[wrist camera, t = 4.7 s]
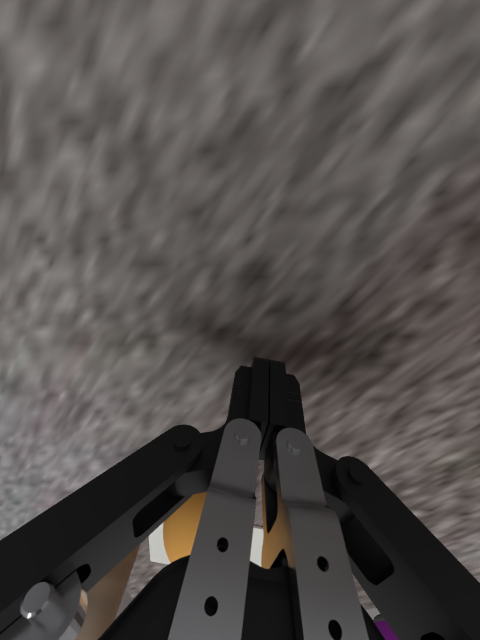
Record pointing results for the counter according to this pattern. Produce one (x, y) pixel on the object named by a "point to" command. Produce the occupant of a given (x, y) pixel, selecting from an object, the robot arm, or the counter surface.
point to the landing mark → (160, 556)
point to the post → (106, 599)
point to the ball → (183, 527)
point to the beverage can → (384, 628)
